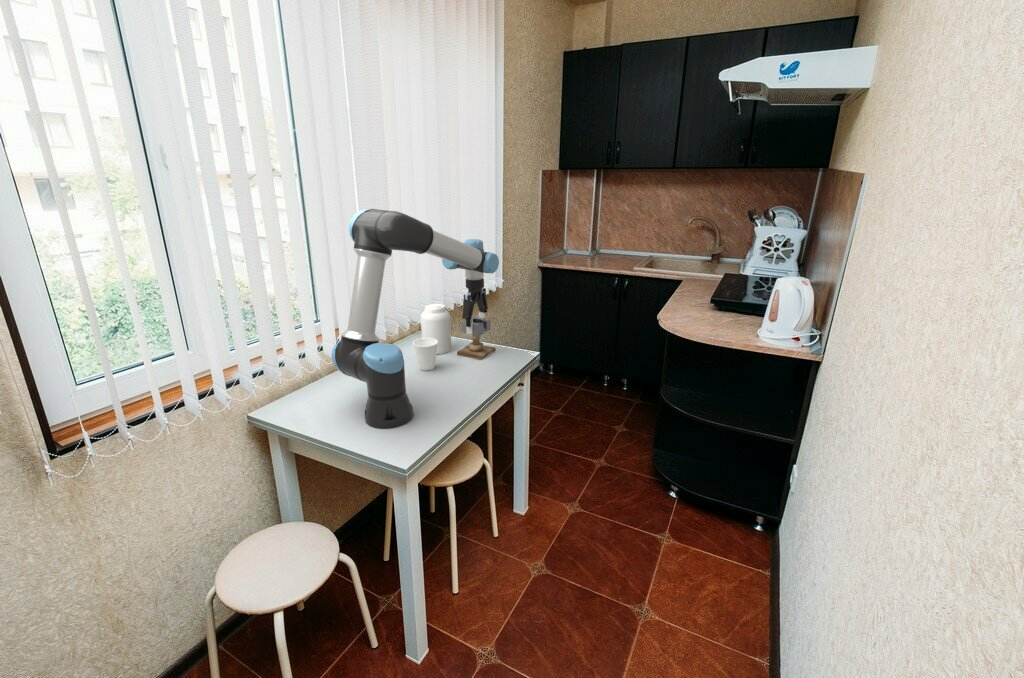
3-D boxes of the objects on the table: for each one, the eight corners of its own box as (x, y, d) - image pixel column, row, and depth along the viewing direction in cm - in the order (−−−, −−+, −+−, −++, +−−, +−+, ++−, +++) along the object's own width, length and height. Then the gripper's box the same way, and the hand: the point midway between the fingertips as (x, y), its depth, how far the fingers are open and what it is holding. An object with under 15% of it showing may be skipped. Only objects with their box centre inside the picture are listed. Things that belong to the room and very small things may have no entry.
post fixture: (481, 360, 197) (480, 332, 192) (456, 354, 202) (456, 328, 198) (495, 350, 207) (495, 324, 202) (471, 345, 212) (471, 320, 208)
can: (456, 346, 211) (454, 303, 204) (444, 356, 200) (441, 311, 193) (430, 343, 215) (428, 300, 208) (417, 353, 204) (414, 308, 197)
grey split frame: (490, 329, 203) (490, 319, 201) (479, 335, 195) (479, 325, 193) (472, 326, 206) (472, 316, 205) (461, 332, 199) (460, 322, 197)
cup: (437, 373, 184) (435, 346, 180) (411, 372, 184) (409, 346, 181) (441, 363, 193) (440, 337, 190) (417, 362, 194) (415, 337, 190)
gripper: (468, 284, 182) (469, 339, 190) (495, 273, 200) (496, 324, 208) (451, 282, 185) (454, 336, 193) (480, 272, 203) (481, 321, 211)
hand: (475, 330), depth 201 cm, fingers closed on grey split frame, 9 cm apart
